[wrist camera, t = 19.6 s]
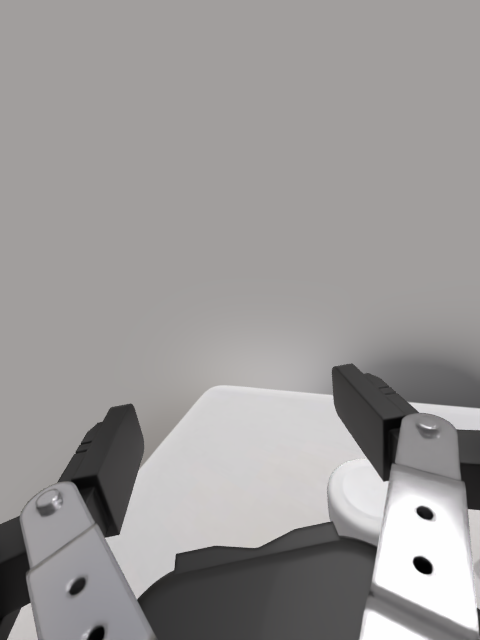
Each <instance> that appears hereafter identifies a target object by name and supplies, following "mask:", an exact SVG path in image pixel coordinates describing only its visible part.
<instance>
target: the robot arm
mask: <svg viewBox="0 0 480 640" xmlns="http://www.w3.org/2000/svg"><path fill="white" fill-rule="evenodd" d="M332 381H333V397H334V405H335V409H336V412H337V414H338V416H339V418H340V419H341V420H342V422H343V423H344V425H345V426H346V428H347V429H348V431H349V432H350V434H351V435H352V437H353V438H354V439H355V441H356V442H357V444H358V445H359V447H360V448H361V450H362V451H363V453H364V454H365V456H366V457H367V458H368V460H369V461H370V463H371V464H372V466H373V467H374V469H375V470H376V472H377V473H378V475H379V476H380V478H381V479H382V480H383V482H385V481H389V483H388V489H387V495H386V501H385V507H384V513H383V519H382V525H381V531H380V537H379V542H378V546H376V545H374V544H372V543H369V542H367V541H364V540H361V539H358V538H355V537H349V536H342V535H338V532H337V530H336V527H335V525H334V523H333V521H332V522H327V523H322V524H317V525H313V526H308V527H303V528H298V529H294V530H292V531H290V532H288V533H287V534H285V535H283V536H281V537H279V538H277V539H275V540H273V541H271V542H269V543H267V544H265V545H263V546H261V547H259V548H241V547H226V546H212V547H207V548H202V549H198V550H193V551H188V552H183V553H178V554H176V559H175V569H174V571H172V572H170V573H168V574H166V575H165V576H163V577H162V578H160V579H159V580H158V581H156V582H155V583H154V584H153V585H151V586H150V587H149V588H148V589H147V590H146V591H145V592H144V593H143V594H142V595H141V596H140V597H139V598H138V599H136V597H135V595H134V593H133V592H132V590H131V588H130V586H129V584H128V582H127V580H126V578H125V576H124V574H123V572H122V570H121V568H120V566H119V564H118V563H117V561H116V559H115V557H114V555H113V553H112V551H111V549H110V547H109V545H108V543H107V541H106V539H105V537H110V536H115V535H119V534H120V531H121V527H122V524H123V521H124V517H125V514H126V510H127V507H128V504H129V500H130V497H131V494H132V490H133V487H134V483H135V480H136V477H137V473H138V470H139V466H140V463H141V460H142V456H143V453H144V439H143V435H142V432H141V428H140V425H139V421H138V418H137V415H136V412H135V408H134V406H133V405H132V404H126V405H121V406H115V407H111V408H110V409H109V411H108V413H107V415H106V417H105V419H104V420H103V422H100V423H97V424H96V425H95V426H94V427H93V428H92V429H91V430H90V431H88V432H87V434H86V435H85V437H84V439H83V441H82V442H81V445H79V447H78V449H77V451H76V454H74V456H73V457H72V459H71V461H70V462H69V464H68V466H67V467H66V469H65V470H64V472H63V474H62V475H61V477H60V479H59V481H58V482H57V483H56V484H53V485H51V486H49V487H47V488H45V489H43V490H42V491H40V492H39V493H37V494H36V495H35V496H34V497H33V498H32V499H30V500H29V501H28V502H27V504H26V505H25V506H24V508H23V509H22V511H21V514H20V516H18V517H16V518H14V519H11V520H9V521H7V522H5V523H2V524H0V640H7V638H8V636H9V634H10V632H11V629H12V627H13V625H14V623H15V620H16V618H17V616H18V614H19V612H20V609H21V607H23V606H25V605H27V604H29V603H31V606H32V611H33V616H34V621H35V626H36V631H37V636H38V640H480V616H479V615H477V605H476V594H475V583H474V573H473V562H472V551H471V541H470V530H469V519H468V509H474V510H480V431H479V430H457V429H455V427H454V426H453V425H452V424H451V423H450V422H448V421H447V420H445V419H443V418H441V417H438V416H435V415H432V414H426V413H419V412H418V411H417V410H416V409H414V408H413V407H412V406H411V405H410V404H409V403H408V402H407V401H405V400H404V399H403V398H402V397H401V396H400V395H399V394H396V392H395V391H394V390H393V389H392V388H391V387H389V386H388V385H387V384H386V383H385V382H384V381H383V380H382V379H380V378H378V377H376V376H374V375H371V374H369V373H366V374H363V373H362V372H361V371H360V370H359V369H357V367H356V366H355V365H353V364H346V365H340V366H335V367H333V368H332Z"/></svg>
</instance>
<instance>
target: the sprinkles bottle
mask: <svg viewBox="0 0 480 640" xmlns="http://www.w3.org/2000/svg"><path fill="white" fill-rule="evenodd" d="M388 483H389V481H385V482H383V480H382V479H381V478H380V476H379V475H378V473H377V472H376V470H375V469H374V467H373V466H372V464H371V463H370V461H369V460H368V459H355V460H351V461H348V462H345V463H343V464H342V465H340V466H339V467H337V468H336V469H335V470H334V472H333V473H332V475H331V476H330V478H329V482H328V487H327V497H328V510H329V517H330V521H331V522H332V521H333V523H334V525H335V527H336V530H337V532H338V535H342V536H349V537H355V538H358V539H361V540H364V541H367V542H369V543H372V544H374V545H376V546H378V542H379V537H380V531H381V525H382V519H383V513H384V507H385V501H386V495H387V489H388Z"/></svg>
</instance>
